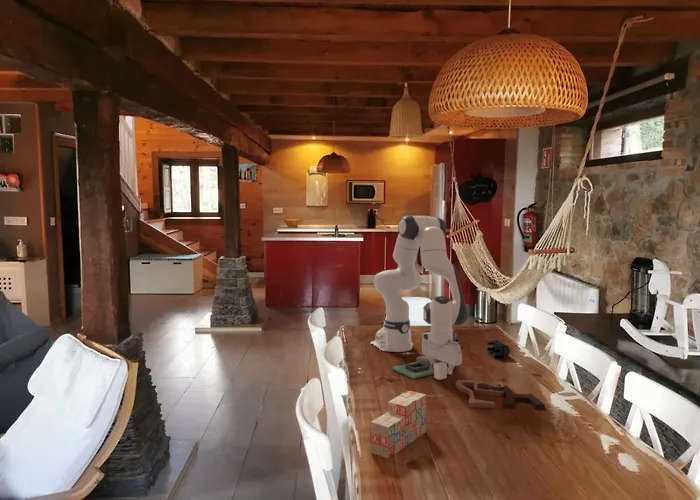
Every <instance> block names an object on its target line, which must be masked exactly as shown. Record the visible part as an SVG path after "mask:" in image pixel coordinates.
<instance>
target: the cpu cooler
mask: <svg viewBox="0 0 700 500" xmlns="http://www.w3.org/2000/svg"><path fill="white" fill-rule="evenodd" d="M457 337H458V336H457V333H456V332H453V341H456V342H458V344H459V339H458V338H457ZM458 344H457V345H458Z"/></svg>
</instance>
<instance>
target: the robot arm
mask: <svg viewBox="0 0 700 500" xmlns="http://www.w3.org/2000/svg"><path fill="white" fill-rule="evenodd" d="M397 230H398V235H397V238H396V242H395V244H394V245H395V246H394V250H393V253H392V258H393V260H394V262H395V263H396V264H397V267H396V269H389V270H388V269H386V270H382V271H381V272H378V273H376V274H375V276H374V279H373V285H374V288H375V290H376V291H377V292H378V293H380V295H381V296H382V297H383V300H384V303H385V315H386V316H385V318H386V319H383V321H382V322H383V324H384V325H383V327H381V328H380V329H379V330H378V331H377V332H376V333H375V339H374V340H373V341H370V345H371V344H373V345H374V346H373V345H372V346H373V347H375V346H376V347H377V349H378V348H379V349H378V350H379V351H381V350H382V351H381V352H391V353H392V352H394V353H401V352H403V353H405V352H408V351H412V349H413V346H414V343H413V342H412V332H411V329H410V327H411V320H410V305H409V303H408V302H407V300H404V299H403V298H402V293H401V292H407V291H412V290H414V289H417V288H418V287H420V285H421V282H422V278H421V274H420V272H419V271H418V270H417V267H416V261H417V256H418V253H419V249H420V261H421V265H422V267H423V268H424V270H426V271H427V272H429V273H431V274H434V275H436V276H438V277H439V276H440V277H442V278H444V279H445V280H446V281H447V282H448V284H449V289H450V292H451V296H452V299H450V297H447V296H443V295H442V296H441V295H440V296H435V297H433V298H432V300H431V301H430V302H427V303H426V304H425V305H424V307H423V309H422V310H423V319H422V320H423V321H424V322H425V323H427V324H428V325H431V327H430V331H429V332H424V333H422V334H421V339H422V340H421V352H422V356H424V355H425V356H428V357H429V361H430V363H431V368H434V363H435V361H434V359H436V361H439V362H444V363H447V364H448V365H447V366H448V367H449V369H447V375H452V374H453V373H454V372H453V370H454V368H455V366H456V367H457V366H461V365H462V363H463V354H462V348H461V345H460V344H459V341H458V342H456V341H453V333H454V329H453V326H462V325H463V324H465V323H466V322H467V321H468V319H469V311H468V307H467V305H466V301H465V298H464V297H465V296H464V294H463V290H462V285H461V282H460V278H459V273H458V271H457V268H456V265H455V264H453V263H452V262H451V261H450V259H449V257H448V254H447V245H446V239H445V235H446V232H447V225H446V222H445V220H444V219H443V218H440V217H436V216H429V215H410V214H409V215H408V214H407V215H403V216H402V217H401V219H400V220H399V221H398V227H397ZM457 344H458V345H457ZM376 347H375V348H376Z"/></svg>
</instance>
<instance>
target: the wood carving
mask: <svg viewBox="0 0 700 500" xmlns="http://www.w3.org/2000/svg"><path fill="white" fill-rule="evenodd" d="M468 387H473V389H470V388H468ZM455 388H456V389H457V390H459V392H462V393H464V394H466V395H468V396H469V399H468V407H469V408H483V409H484V408H486V409H496V403H495V402H494V401H490V400H489V401H488V400H483V399H476V397H475V394H476V395H487V396H492V397H493V396H495V397H505V402H504V404H503V408H504V409H515V403H529V404H530V405H532V407H533V408H534V410H546V405H545V403H544V402H543V401H542V400H540V399H539V398H537V397H536V396H535V395H534V394H532V393H530V392H529V393H516V392H513V390H512V389H511V388H510V387H508V386H507V385H506V384H503V383H502V382H501V381H500V382H499V381H489V382H487V381H486V382H485V381H479V380H473V379H458V380H456V381H455ZM484 388H486V389H484Z"/></svg>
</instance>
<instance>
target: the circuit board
mask: <svg viewBox="0 0 700 500" xmlns="http://www.w3.org/2000/svg"><path fill="white" fill-rule="evenodd" d="M434 361H435V363H438V362H437V359H434ZM449 367H450V366H448V365H447V369H449ZM392 369H393V371H394V370H395V371H394V372H397V373H400V374H401V373H402V374H401V375H403V374H404V376H406V377H408V378H411V379H413V380H414V379H419V378H422V377H423V378H424V377H427V376H431V375H434V368H431V363H430V361H429V357H428V356H425V355H420V356H417V357H416V361H415V362H414V361H413V362H409V363H405V364H399V365H395V366H392Z"/></svg>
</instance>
